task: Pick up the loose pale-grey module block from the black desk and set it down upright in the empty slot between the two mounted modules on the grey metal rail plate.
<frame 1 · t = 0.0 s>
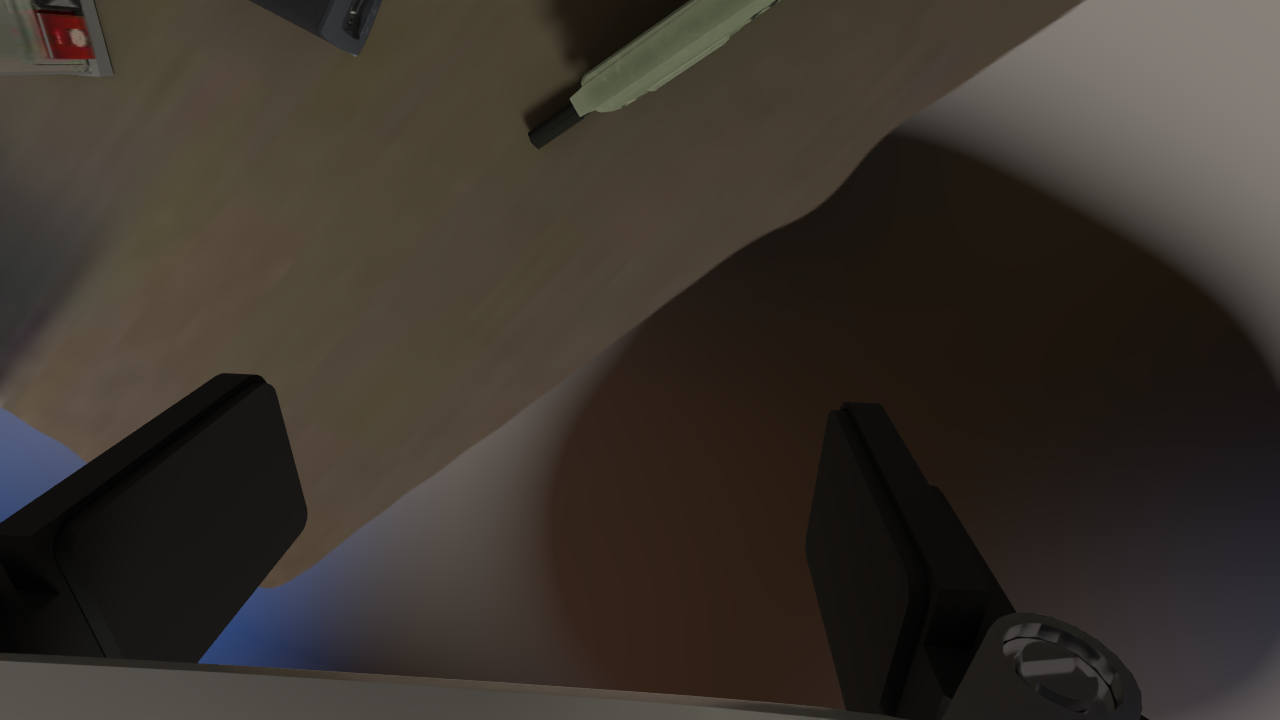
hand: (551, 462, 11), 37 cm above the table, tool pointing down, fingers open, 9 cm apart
handheld radio: (687, 35, 41), on the table
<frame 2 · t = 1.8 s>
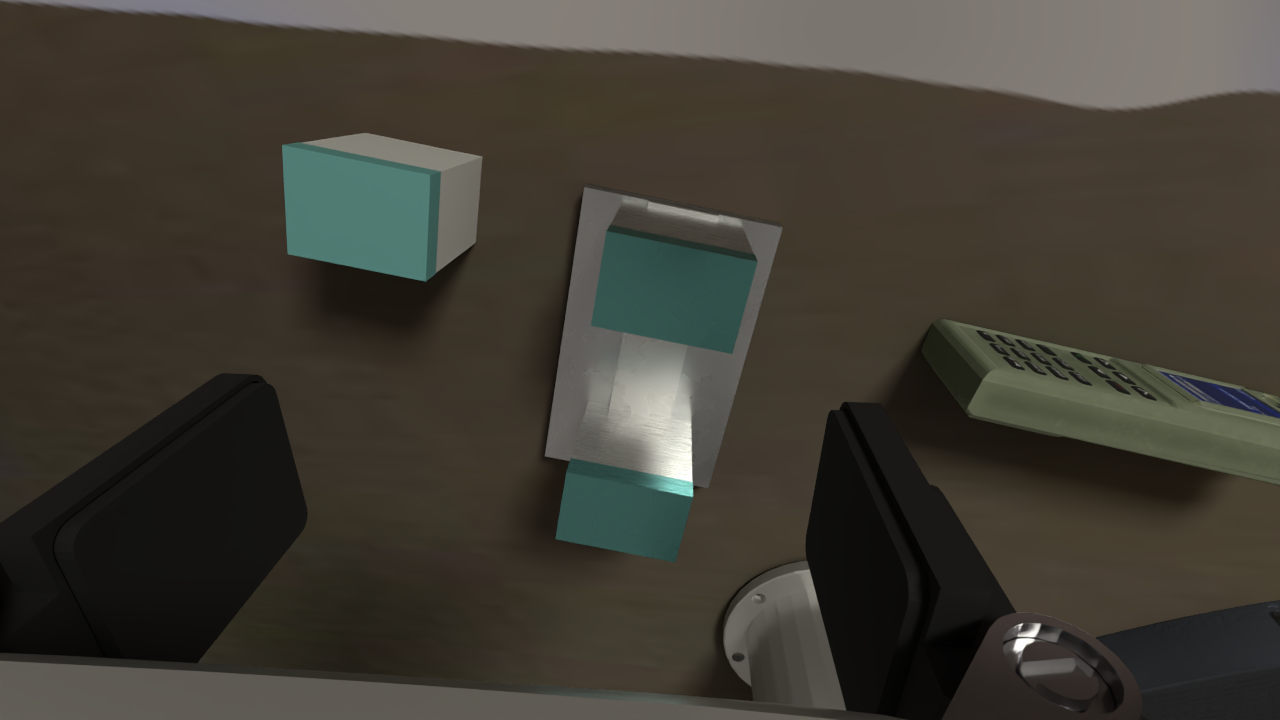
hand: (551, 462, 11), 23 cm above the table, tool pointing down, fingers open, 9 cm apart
rail plate: (653, 344, 35), on the table
module block: (422, 189, 32), on the table
handheld radio: (1139, 385, 34), on the table
external hard drive: (1175, 676, 43), on the table
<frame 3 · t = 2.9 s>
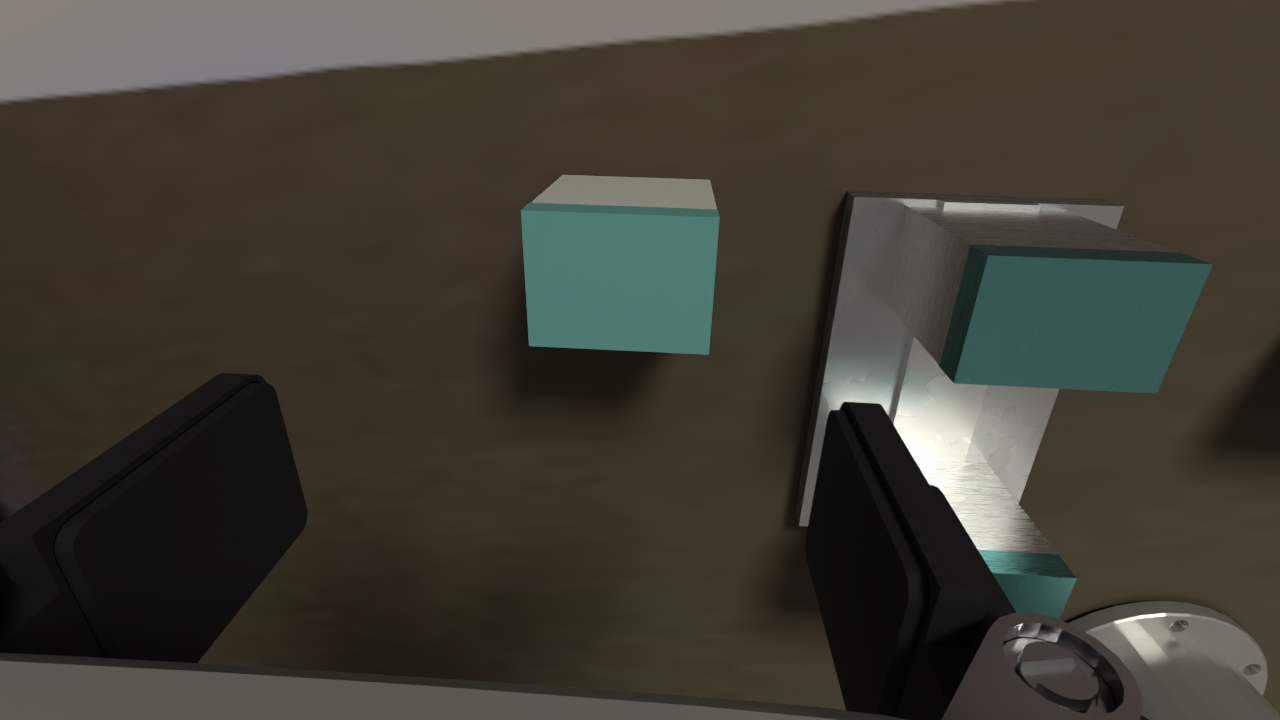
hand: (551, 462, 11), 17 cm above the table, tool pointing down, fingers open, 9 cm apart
rail plate: (929, 375, 28), on the table
module block: (634, 232, 26), on the table
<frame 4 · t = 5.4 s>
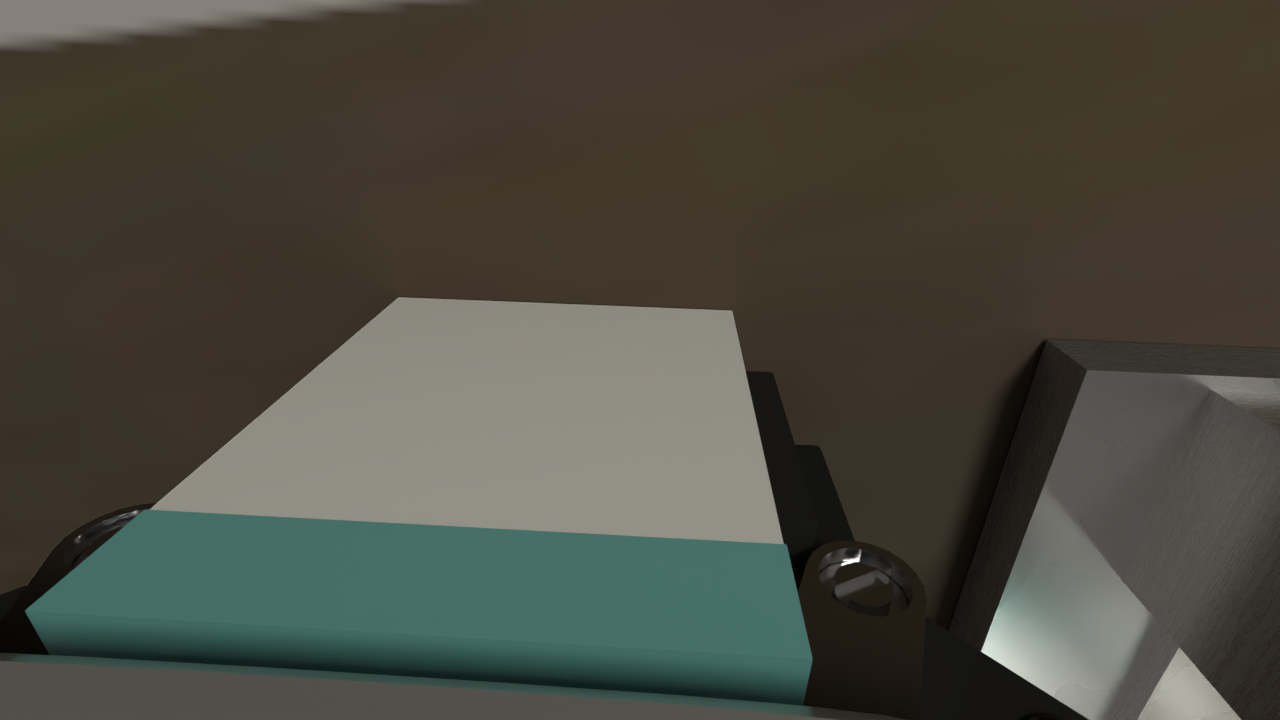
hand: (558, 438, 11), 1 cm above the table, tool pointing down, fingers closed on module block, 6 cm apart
rail plate: (1162, 669, 14), on the table
module block: (567, 412, 12), on the table, touching gripper
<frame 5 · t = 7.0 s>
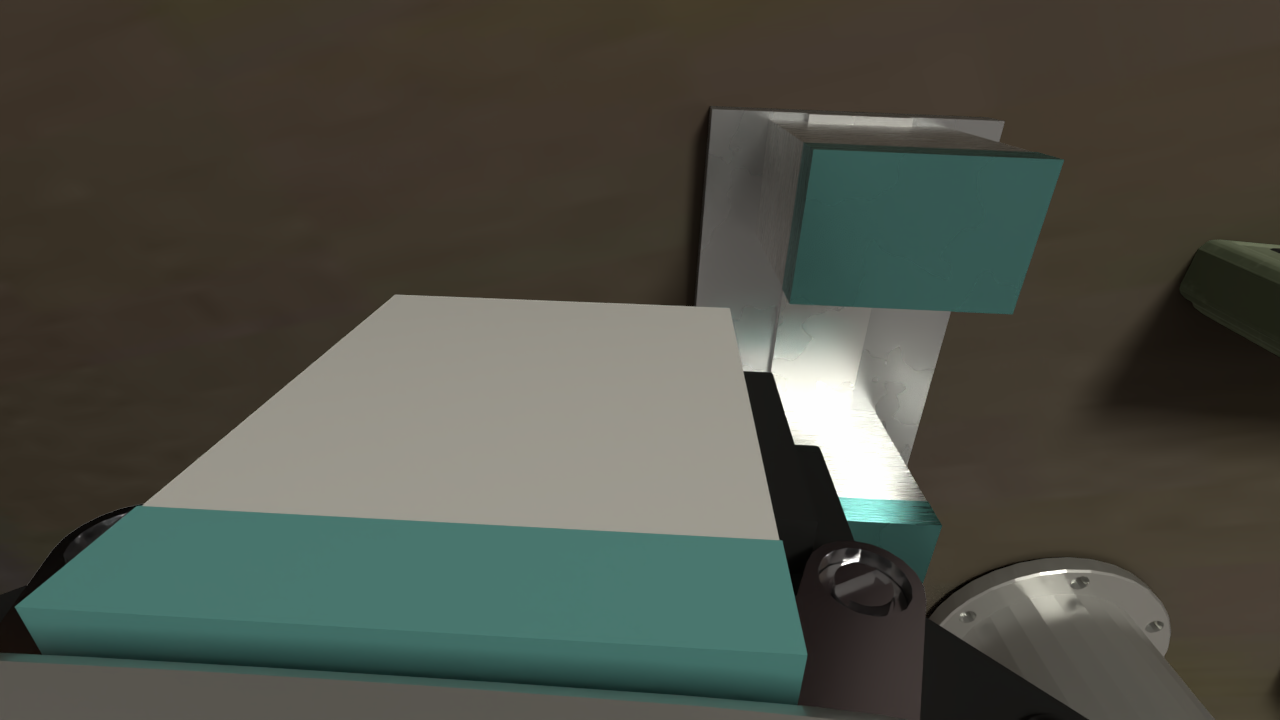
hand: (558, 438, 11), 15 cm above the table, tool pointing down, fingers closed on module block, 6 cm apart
rail plate: (812, 316, 26), on the table
module block: (564, 410, 12), point 14 cm above the table, touching gripper
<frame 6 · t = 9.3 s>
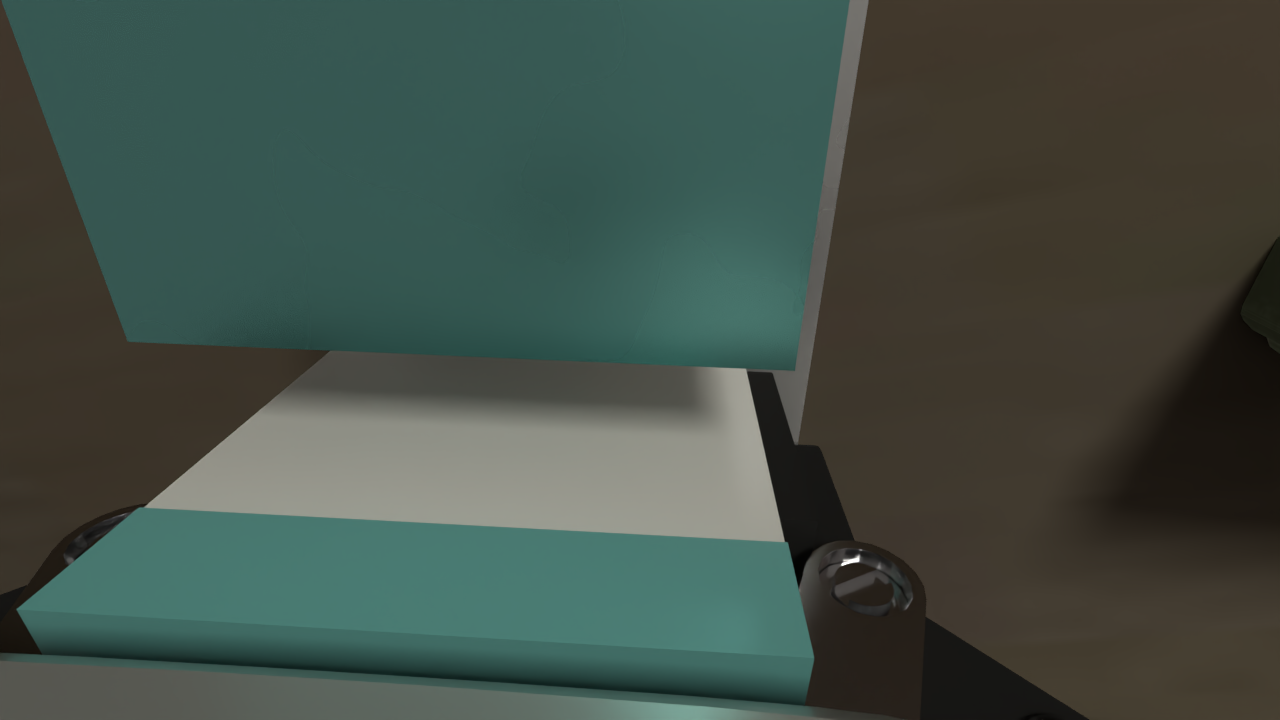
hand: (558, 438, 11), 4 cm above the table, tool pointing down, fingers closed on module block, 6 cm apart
rail plate: (584, 347, 15), on the table
module block: (566, 410, 12), point 3 cm above the table, touching gripper
when the fingers open (4 cm above the table, at t = 9.9 s): module block drops 1 cm, resting on rail plate.
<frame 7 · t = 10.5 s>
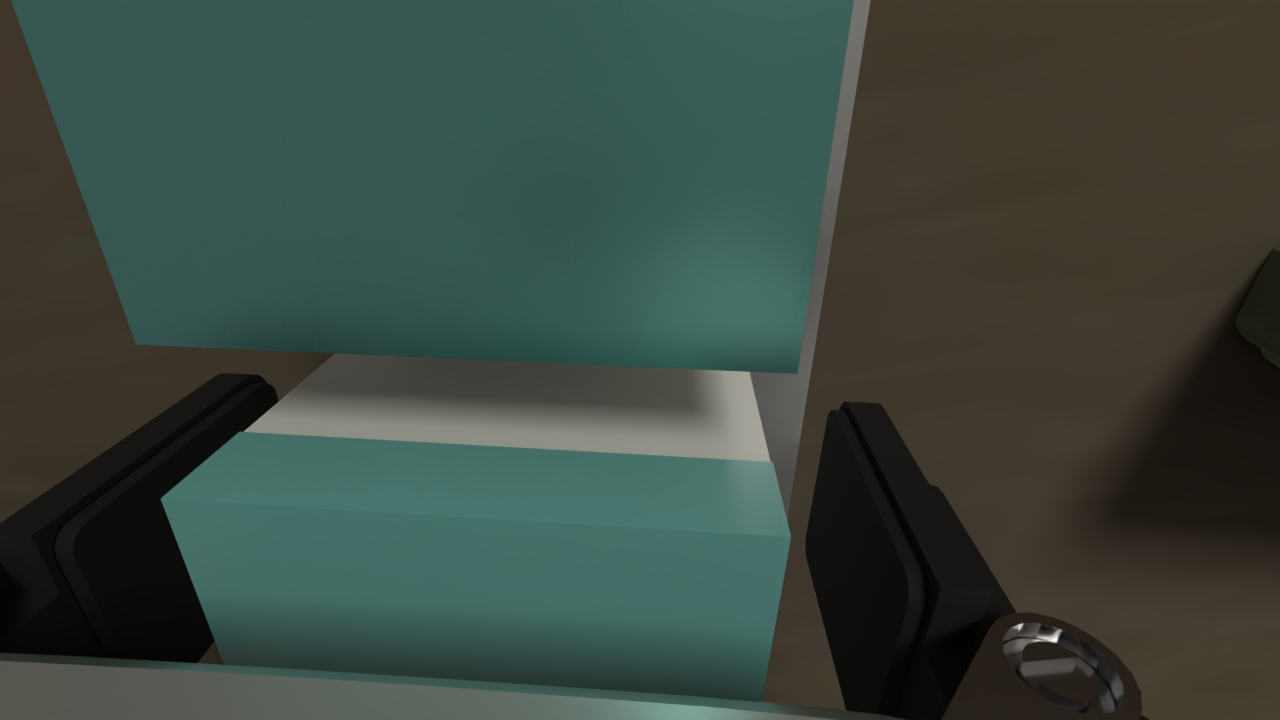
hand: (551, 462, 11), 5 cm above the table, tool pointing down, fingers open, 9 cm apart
rail plate: (586, 349, 15), on the table
module block: (579, 381, 13), point 2 cm above the table, touching rail plate
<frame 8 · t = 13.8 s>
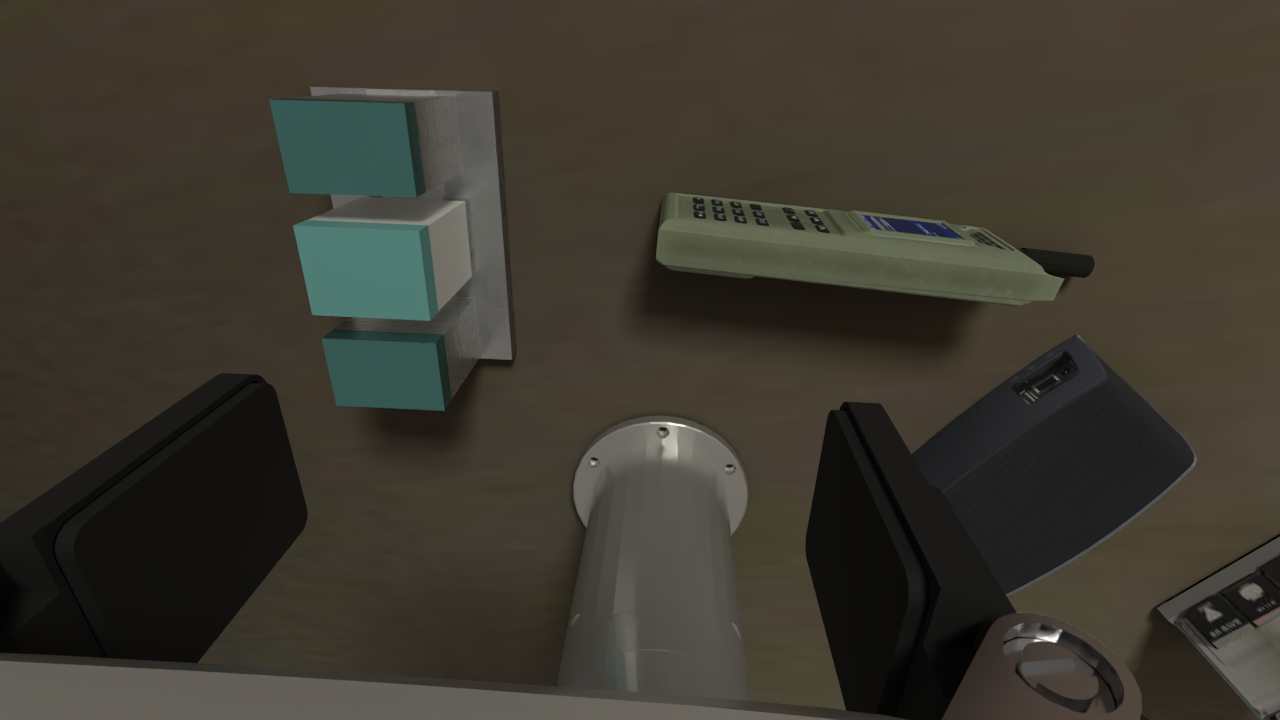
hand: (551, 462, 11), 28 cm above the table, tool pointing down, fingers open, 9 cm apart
rail plate: (427, 230, 38), on the table
module block: (418, 237, 37), point 2 cm above the table, touching rail plate
grey printed box: (1260, 570, 46), on the table
handheld radio: (866, 235, 37), on the table
external hard drive: (1001, 472, 44), on the table
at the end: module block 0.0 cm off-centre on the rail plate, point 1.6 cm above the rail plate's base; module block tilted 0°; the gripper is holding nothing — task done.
